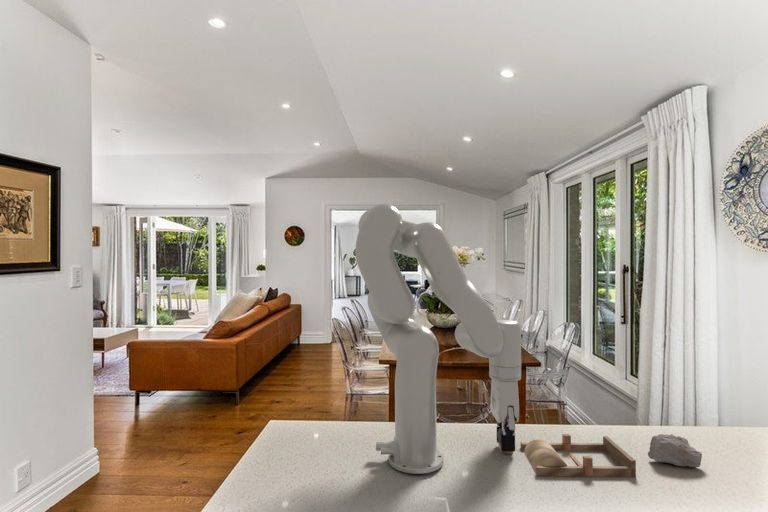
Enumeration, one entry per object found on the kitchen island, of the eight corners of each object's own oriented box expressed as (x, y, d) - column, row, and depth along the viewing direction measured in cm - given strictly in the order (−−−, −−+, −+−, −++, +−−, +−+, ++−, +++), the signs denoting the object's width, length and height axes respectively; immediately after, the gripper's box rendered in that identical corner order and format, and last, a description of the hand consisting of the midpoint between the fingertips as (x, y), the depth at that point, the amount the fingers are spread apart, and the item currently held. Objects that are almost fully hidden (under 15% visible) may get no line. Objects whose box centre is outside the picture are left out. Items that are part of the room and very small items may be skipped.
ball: (499, 447, 106) (499, 430, 106) (495, 440, 110) (495, 424, 110) (516, 447, 106) (516, 430, 106) (511, 440, 110) (511, 424, 110)
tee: (501, 455, 106) (501, 445, 106) (498, 450, 109) (498, 440, 109) (513, 455, 106) (512, 445, 106) (510, 450, 109) (510, 440, 109)
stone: (708, 470, 98) (709, 443, 98) (666, 471, 97) (667, 443, 97) (680, 455, 106) (680, 430, 106) (641, 455, 105) (642, 430, 105)
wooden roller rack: (537, 499, 96) (537, 457, 96) (520, 470, 109) (520, 433, 109) (636, 500, 95) (636, 458, 95) (607, 470, 108) (606, 434, 108)
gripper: (482, 363, 116) (483, 433, 116) (497, 380, 99) (497, 462, 99) (511, 363, 116) (512, 433, 116) (531, 380, 99) (531, 462, 99)
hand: (505, 446), depth 108 cm, fingers closed on ball, 3 cm apart
